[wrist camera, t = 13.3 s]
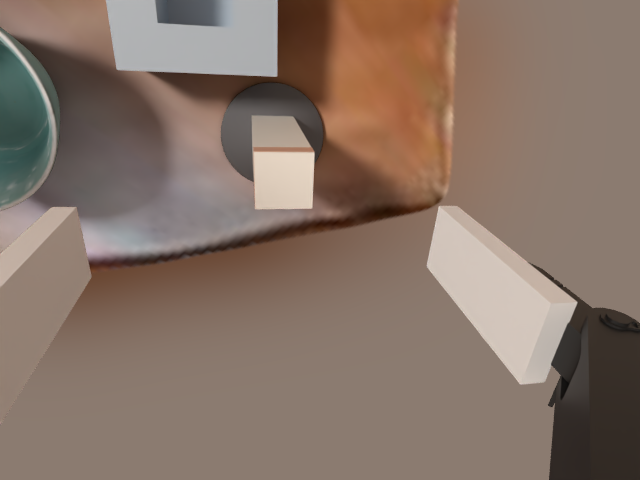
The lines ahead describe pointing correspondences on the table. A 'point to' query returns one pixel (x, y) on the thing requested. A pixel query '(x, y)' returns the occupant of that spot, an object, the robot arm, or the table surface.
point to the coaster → (266, 103)
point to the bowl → (25, 122)
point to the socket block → (195, 36)
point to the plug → (281, 164)
